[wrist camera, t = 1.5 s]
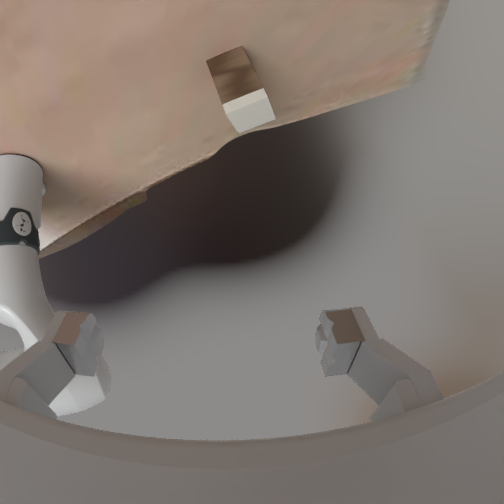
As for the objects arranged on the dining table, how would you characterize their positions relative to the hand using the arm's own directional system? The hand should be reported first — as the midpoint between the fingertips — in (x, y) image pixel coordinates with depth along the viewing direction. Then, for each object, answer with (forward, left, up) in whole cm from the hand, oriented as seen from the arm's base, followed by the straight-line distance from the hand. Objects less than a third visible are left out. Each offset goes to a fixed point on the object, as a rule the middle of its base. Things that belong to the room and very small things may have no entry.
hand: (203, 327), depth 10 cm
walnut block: (+3, -20, -30) cm, 36 cm away
